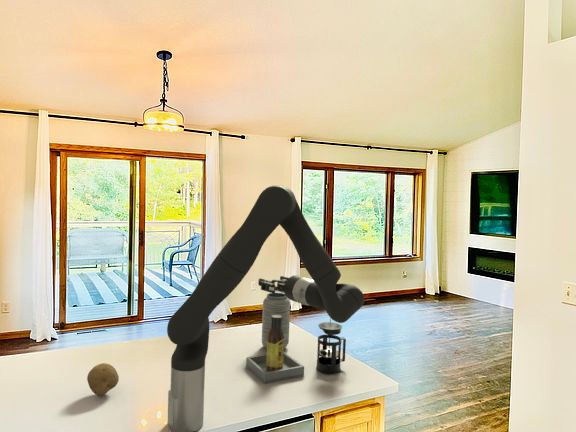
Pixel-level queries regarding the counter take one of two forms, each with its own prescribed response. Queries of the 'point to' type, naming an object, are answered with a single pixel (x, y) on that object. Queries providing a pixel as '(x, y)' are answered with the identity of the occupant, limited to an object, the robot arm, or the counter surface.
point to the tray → (287, 372)
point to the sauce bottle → (275, 345)
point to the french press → (329, 356)
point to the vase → (275, 306)
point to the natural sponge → (102, 379)
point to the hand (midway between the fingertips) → (270, 280)
